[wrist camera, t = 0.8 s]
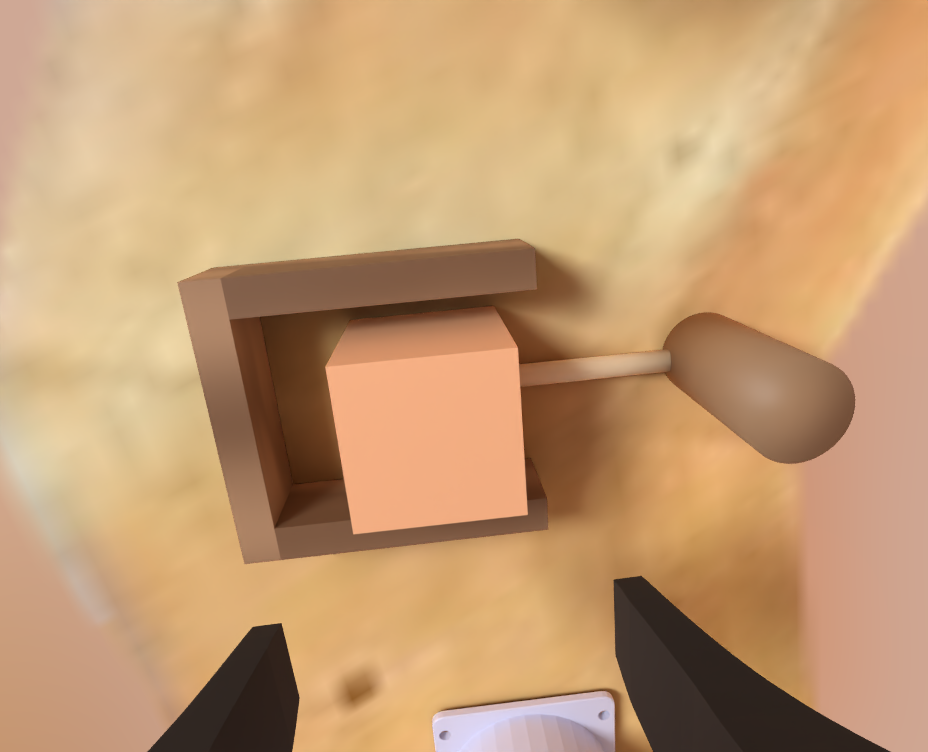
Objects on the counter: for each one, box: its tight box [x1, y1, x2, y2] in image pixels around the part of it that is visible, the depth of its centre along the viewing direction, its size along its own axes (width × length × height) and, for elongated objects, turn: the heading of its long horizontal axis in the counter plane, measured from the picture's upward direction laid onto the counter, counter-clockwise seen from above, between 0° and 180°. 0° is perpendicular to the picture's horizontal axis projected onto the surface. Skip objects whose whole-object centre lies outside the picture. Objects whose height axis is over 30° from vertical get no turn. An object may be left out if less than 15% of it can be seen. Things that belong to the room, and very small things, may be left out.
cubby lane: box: [177, 239, 548, 564], centre depth 20 cm, size 9×10×3 cm
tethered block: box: [325, 306, 855, 534], centre depth 19 cm, size 5×14×6 cm, turn 95°
